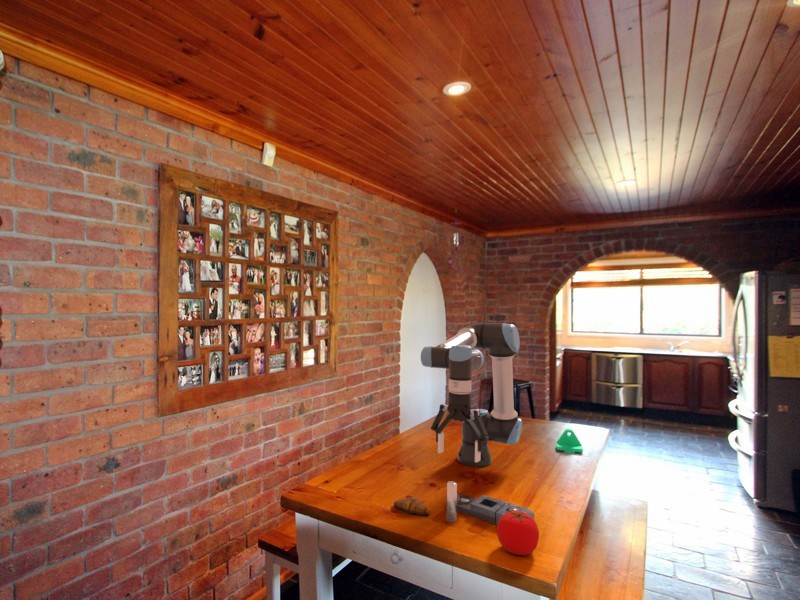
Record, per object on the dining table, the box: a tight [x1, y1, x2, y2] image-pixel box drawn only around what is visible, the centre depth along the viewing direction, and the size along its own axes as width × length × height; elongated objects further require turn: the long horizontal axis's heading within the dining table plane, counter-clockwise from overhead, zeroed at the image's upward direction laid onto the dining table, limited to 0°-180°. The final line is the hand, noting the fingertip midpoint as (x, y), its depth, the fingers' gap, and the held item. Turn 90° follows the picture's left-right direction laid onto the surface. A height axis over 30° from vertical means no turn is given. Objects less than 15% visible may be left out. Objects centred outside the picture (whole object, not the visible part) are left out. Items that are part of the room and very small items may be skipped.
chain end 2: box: [470, 494, 535, 526], centre depth 142 cm, size 20×9×5 cm, turn 53°
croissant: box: [393, 496, 430, 517], centre depth 147 cm, size 14×7×5 cm, turn 60°
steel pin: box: [446, 480, 458, 523], centre depth 141 cm, size 3×3×12 cm
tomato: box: [496, 511, 540, 556], centre depth 124 cm, size 12×12×10 cm
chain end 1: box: [456, 493, 496, 525], centre depth 149 cm, size 20×9×3 cm, turn 53°
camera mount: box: [555, 428, 584, 454], centre depth 215 cm, size 12×8×10 cm, turn 72°
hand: (458, 456), depth 141 cm, fingers open, 13 cm apart
